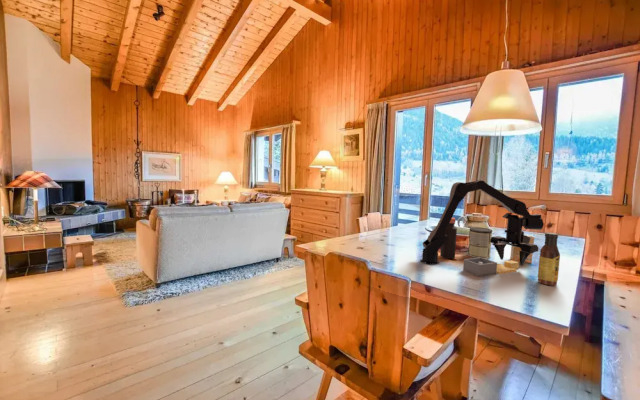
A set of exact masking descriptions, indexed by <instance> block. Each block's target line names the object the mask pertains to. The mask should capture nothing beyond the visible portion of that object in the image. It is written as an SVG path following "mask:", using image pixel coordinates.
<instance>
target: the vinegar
mask: <svg viewBox="0 0 640 400" xmlns="http://www.w3.org/2000/svg"><path fill="white" fill-rule="evenodd" d="M455 225H456V218H455V217H452V219H451V221H450V223H449V225H448V227H447V229H446V232H445V235H447V236H448V238H447V240H446V241H445V245H444V244H443V245H442V247H440V257H441V258H442V259H445V260H446V259H447V260H454V259H455V258H456V248H457V247H456V245H457V234H458V233H457V231H458V228H457V227H456V226H455Z"/></svg>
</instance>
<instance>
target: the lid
mask: <svg viewBox="0 0 640 400" xmlns="http://www.w3.org/2000/svg"><path fill="white" fill-rule="evenodd" d="M519 265H520V262H518V261H513V260H511V259H510V260H506V261H504V264H502V263H497V271H496V275H497V274H498V275H501V274H502V273H503V274H508V273H514V272H517V269H519Z"/></svg>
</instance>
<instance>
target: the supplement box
mask: <svg viewBox="0 0 640 400" xmlns="http://www.w3.org/2000/svg"><path fill="white" fill-rule="evenodd" d="M524 235H525V236H528V237H530V241H529V243H530V244H535V243H534V242H535V236H533V235H532V234H524ZM521 244H526V243H521ZM515 245H516V244H515ZM519 251H522V250H521V249H520V248H519V247H515V246H511V245H510V257H509V259H510V261H511V260H513V261H516V262H519V263H520V253H519ZM533 256H534V253H531V254H530V255H529V256H528V257H527V259H526V260H525V262H524V263H529V264H532V263H533V262H532V261H533Z"/></svg>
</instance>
